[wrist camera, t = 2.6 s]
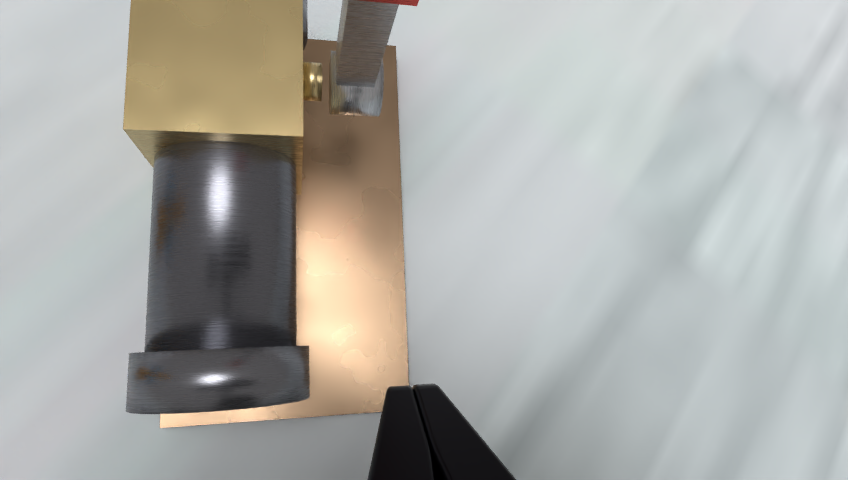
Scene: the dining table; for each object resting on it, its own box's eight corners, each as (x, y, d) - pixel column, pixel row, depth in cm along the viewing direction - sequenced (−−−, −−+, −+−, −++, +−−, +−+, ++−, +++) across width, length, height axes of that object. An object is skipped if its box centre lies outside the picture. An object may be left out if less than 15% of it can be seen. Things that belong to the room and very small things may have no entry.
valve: (405, 407, 22) (454, 432, 15) (163, 424, 20) (93, 463, 13) (391, 57, 25) (428, -55, 18) (179, 41, 23) (129, -92, 16)
